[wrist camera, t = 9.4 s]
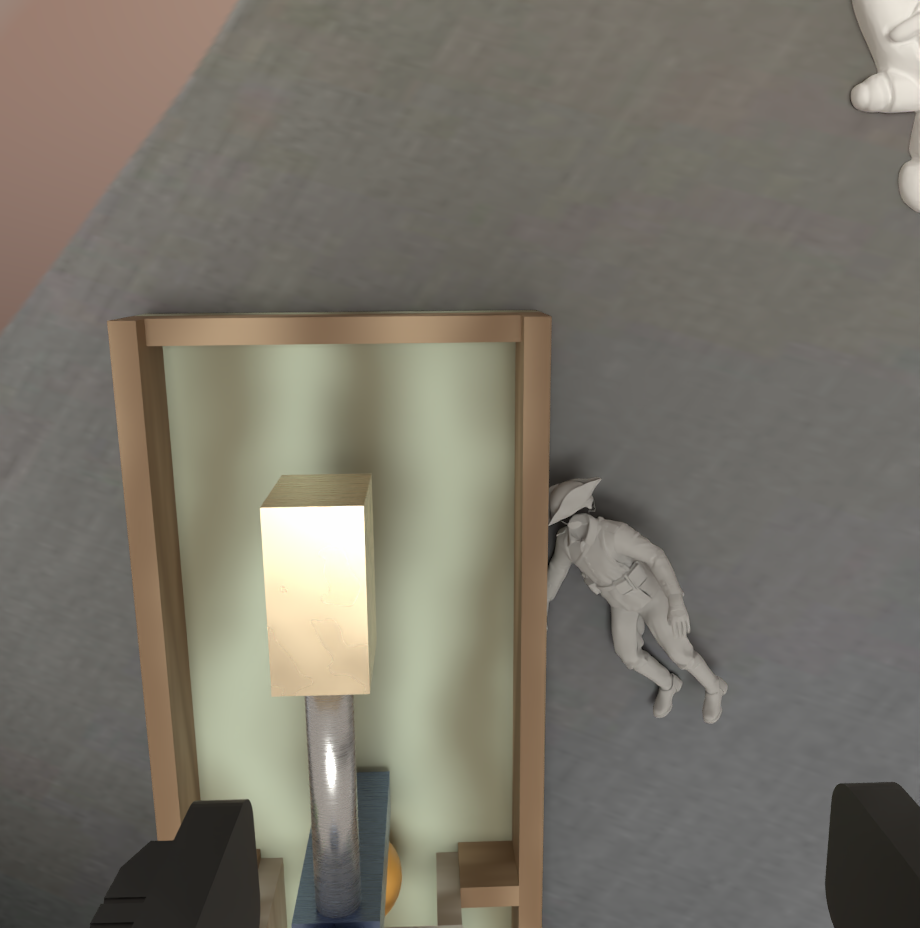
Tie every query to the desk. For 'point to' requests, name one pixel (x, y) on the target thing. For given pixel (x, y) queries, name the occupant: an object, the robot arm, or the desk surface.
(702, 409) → the desk surface
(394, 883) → the ball
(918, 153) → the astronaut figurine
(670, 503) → the desk surface
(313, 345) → the pitch
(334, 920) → the foosball rod
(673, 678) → the soldier figure
